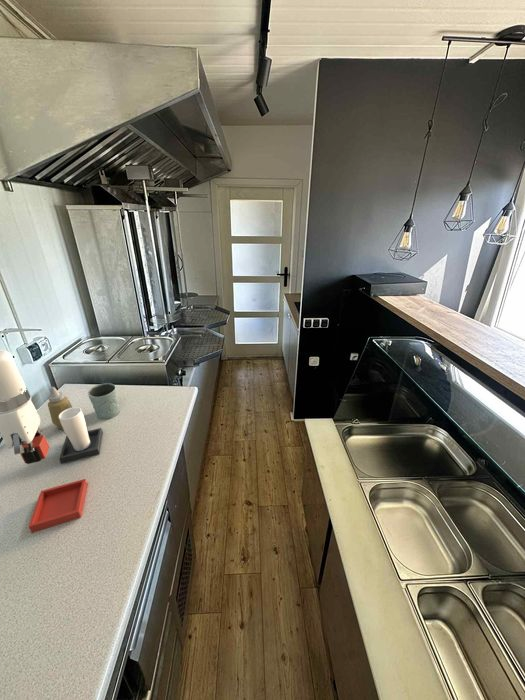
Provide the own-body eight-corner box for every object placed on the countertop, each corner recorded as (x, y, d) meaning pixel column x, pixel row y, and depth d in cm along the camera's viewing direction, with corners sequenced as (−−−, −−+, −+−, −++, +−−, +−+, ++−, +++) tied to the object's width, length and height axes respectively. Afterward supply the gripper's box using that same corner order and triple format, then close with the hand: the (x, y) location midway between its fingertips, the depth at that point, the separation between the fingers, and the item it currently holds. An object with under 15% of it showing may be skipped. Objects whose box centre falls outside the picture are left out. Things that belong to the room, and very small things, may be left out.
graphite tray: (61, 463, 97) (58, 458, 95) (68, 440, 106) (66, 435, 105) (99, 454, 100) (97, 448, 99) (103, 432, 110) (101, 427, 109)
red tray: (31, 533, 76) (28, 527, 75) (43, 496, 85) (41, 490, 84) (81, 517, 79) (78, 511, 78) (87, 484, 89) (85, 478, 88)
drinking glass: (70, 445, 103) (56, 412, 97) (91, 436, 107) (79, 404, 101) (73, 456, 99) (59, 422, 92) (95, 447, 103) (83, 413, 96)
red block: (25, 463, 75) (18, 450, 73) (30, 451, 79) (24, 439, 77) (45, 458, 76) (39, 445, 74) (49, 446, 80) (44, 434, 78)
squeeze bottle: (53, 424, 114) (37, 387, 107) (76, 416, 119) (62, 379, 111) (57, 435, 109) (40, 396, 101) (81, 425, 114) (67, 387, 106)
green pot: (98, 408, 124) (91, 384, 119) (124, 404, 126) (117, 381, 121) (93, 423, 115) (84, 398, 110) (120, 418, 117) (113, 394, 112)
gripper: (4, 385, 75) (30, 438, 83) (-26, 425, 61) (9, 484, 69) (38, 379, 78) (60, 431, 86) (16, 416, 64) (45, 474, 72)
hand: (37, 454), depth 77 cm, fingers closed on red block, 4 cm apart
